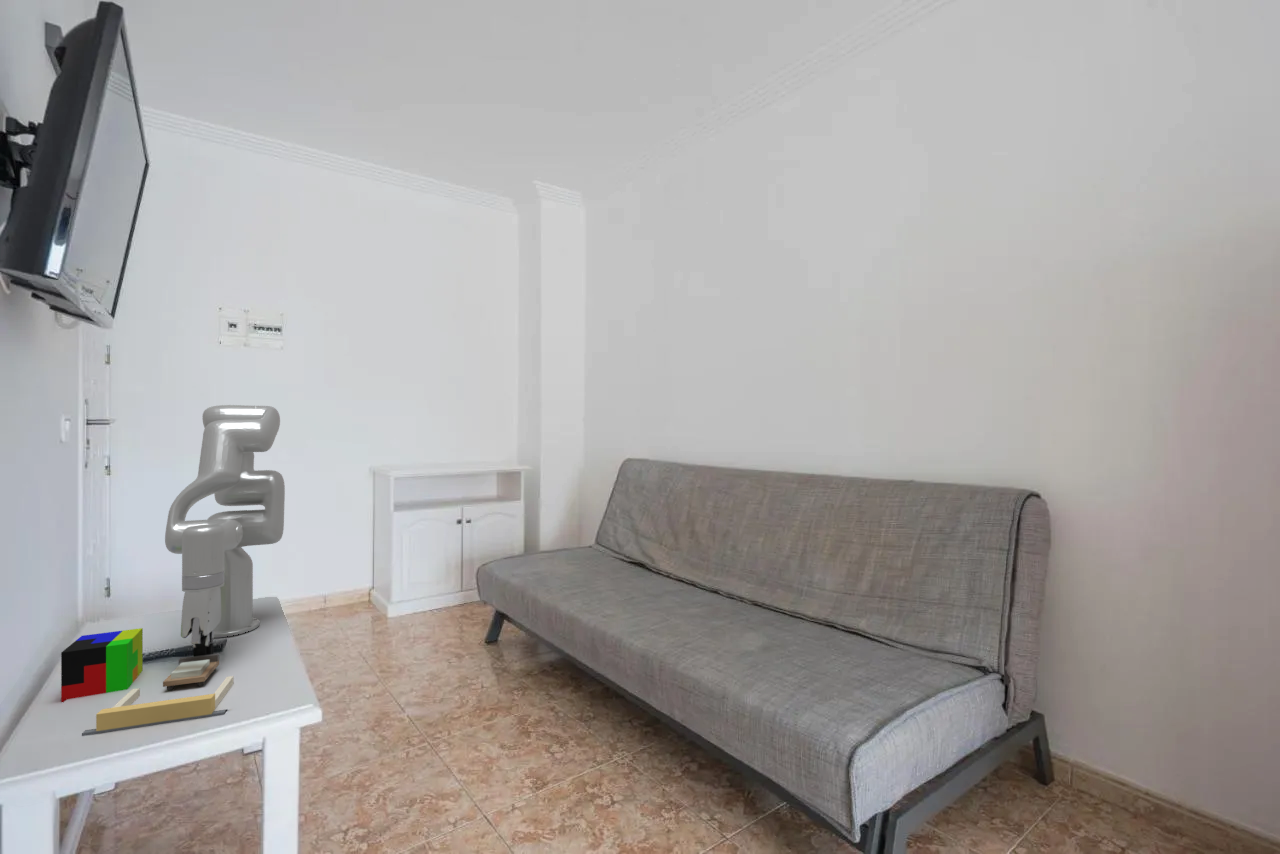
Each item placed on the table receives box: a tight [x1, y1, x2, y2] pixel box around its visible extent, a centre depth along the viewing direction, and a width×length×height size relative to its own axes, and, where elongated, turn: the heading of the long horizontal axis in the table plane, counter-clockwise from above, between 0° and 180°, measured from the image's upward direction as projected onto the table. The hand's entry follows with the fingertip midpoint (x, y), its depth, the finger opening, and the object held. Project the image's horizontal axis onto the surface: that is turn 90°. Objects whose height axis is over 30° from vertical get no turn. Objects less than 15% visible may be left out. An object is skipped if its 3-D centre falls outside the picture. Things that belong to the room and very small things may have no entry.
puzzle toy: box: [60, 627, 144, 703], centre depth 119 cm, size 10×10×10 cm
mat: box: [81, 675, 235, 737], centre depth 116 cm, size 26×21×3 cm
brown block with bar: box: [162, 652, 220, 691], centre depth 121 cm, size 9×7×4 cm
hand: (203, 663), depth 127 cm, fingers closed
